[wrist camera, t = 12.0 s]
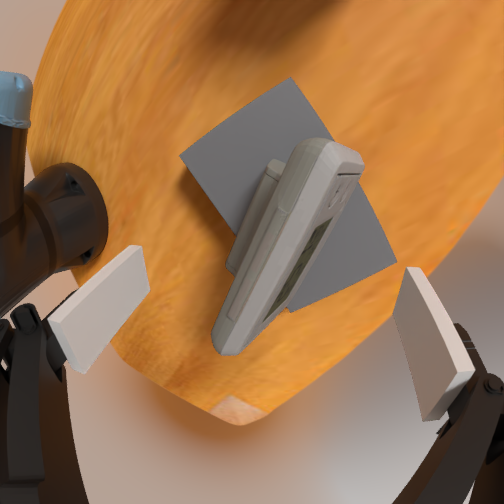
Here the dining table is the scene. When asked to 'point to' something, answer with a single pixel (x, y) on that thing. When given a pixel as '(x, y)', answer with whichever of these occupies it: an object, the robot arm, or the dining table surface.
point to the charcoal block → (280, 147)
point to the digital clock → (283, 236)
